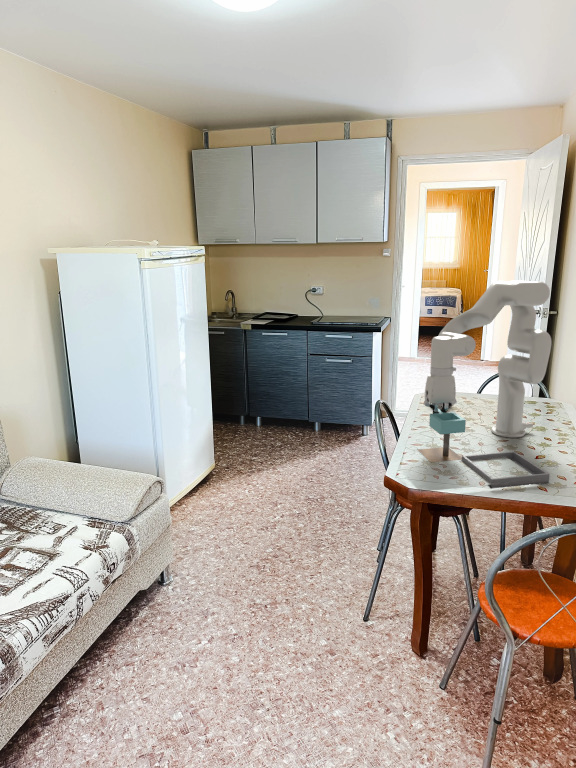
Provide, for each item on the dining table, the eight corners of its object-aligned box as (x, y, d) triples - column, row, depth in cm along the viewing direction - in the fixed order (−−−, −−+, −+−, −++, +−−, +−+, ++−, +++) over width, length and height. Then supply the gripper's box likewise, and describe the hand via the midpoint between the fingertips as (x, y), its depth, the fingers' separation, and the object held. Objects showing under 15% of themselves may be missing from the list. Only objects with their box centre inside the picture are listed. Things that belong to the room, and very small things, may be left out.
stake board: (447, 450, 194) (449, 419, 191) (463, 463, 182) (465, 430, 179) (416, 453, 192) (418, 422, 189) (430, 466, 181) (432, 433, 178)
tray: (513, 459, 185) (514, 451, 184) (548, 482, 166) (549, 474, 165) (461, 463, 182) (461, 455, 181) (491, 488, 163) (492, 479, 163)
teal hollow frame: (446, 419, 194) (447, 407, 193) (465, 432, 181) (465, 419, 179) (423, 421, 193) (424, 409, 192) (440, 434, 179) (440, 422, 178)
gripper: (457, 367, 190) (455, 415, 195) (415, 370, 188) (414, 419, 192) (467, 372, 183) (464, 422, 187) (424, 375, 180) (422, 426, 185)
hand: (439, 420), depth 190 cm, fingers closed on teal hollow frame, 2 cm apart
